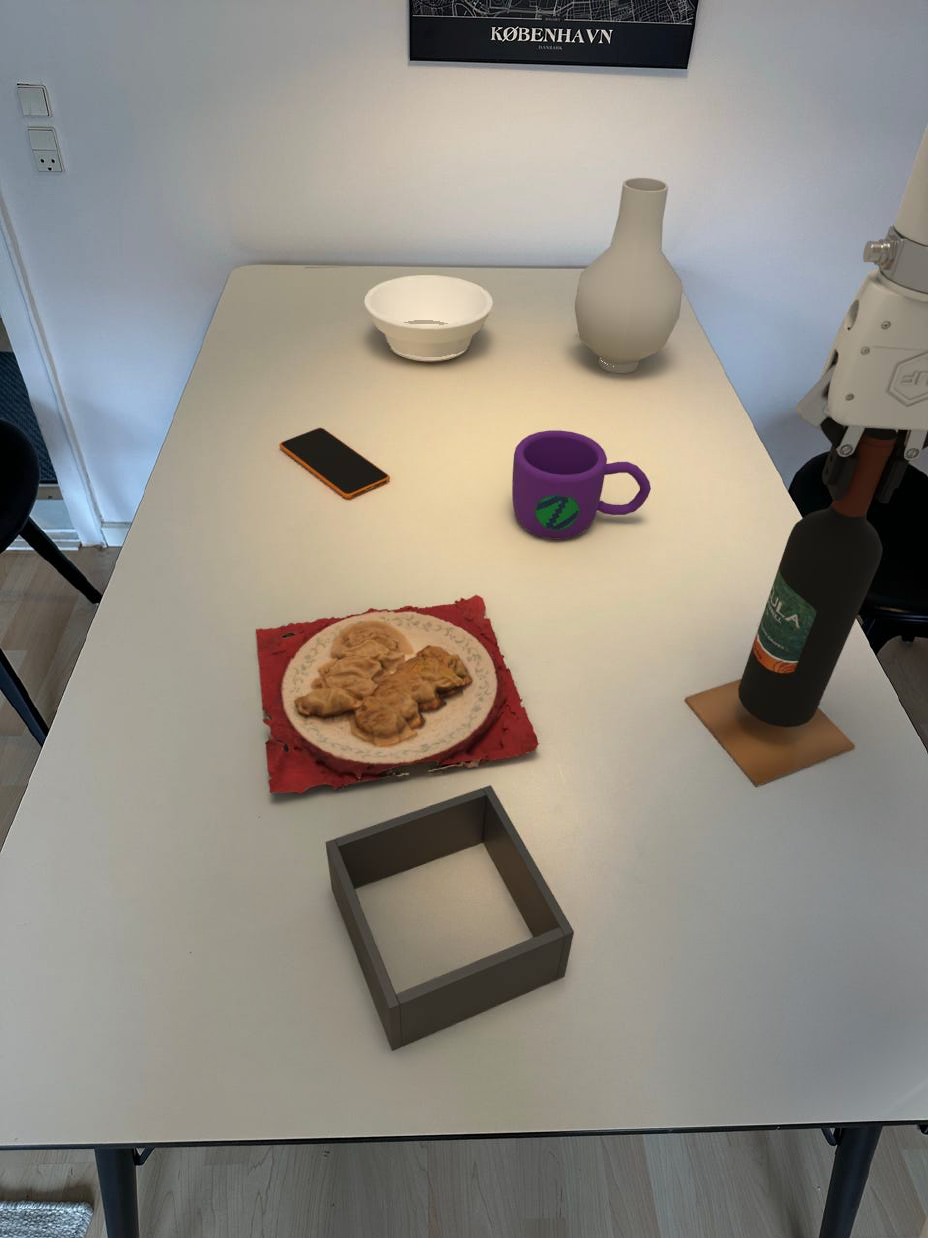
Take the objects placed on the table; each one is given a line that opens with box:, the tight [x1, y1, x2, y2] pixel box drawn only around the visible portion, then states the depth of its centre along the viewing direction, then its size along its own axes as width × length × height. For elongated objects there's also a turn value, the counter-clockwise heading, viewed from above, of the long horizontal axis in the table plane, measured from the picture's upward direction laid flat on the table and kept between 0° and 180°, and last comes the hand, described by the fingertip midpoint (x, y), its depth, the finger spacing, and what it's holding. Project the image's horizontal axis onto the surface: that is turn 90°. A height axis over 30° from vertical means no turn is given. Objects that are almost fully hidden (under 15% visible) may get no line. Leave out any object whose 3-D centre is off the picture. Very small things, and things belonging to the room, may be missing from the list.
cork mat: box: [684, 678, 856, 787], centre depth 91 cm, size 12×12×1 cm
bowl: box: [363, 274, 494, 362], centre depth 150 cm, size 21×21×8 cm
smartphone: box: [278, 427, 391, 499], centre depth 125 cm, size 8×17×1 cm, turn 41°
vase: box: [574, 177, 684, 374], centre depth 140 cm, size 17×16×28 cm
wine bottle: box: [738, 428, 897, 727], centre depth 79 cm, size 8×8×30 cm
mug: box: [511, 429, 652, 540], centre depth 113 cm, size 17×11×10 cm, turn 86°
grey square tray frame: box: [325, 784, 575, 1051], centre depth 72 cm, size 15×15×7 cm
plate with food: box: [255, 594, 541, 794], centre depth 92 cm, size 24×26×3 cm
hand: (856, 490), depth 72 cm, fingers closed on wine bottle, 2 cm apart
